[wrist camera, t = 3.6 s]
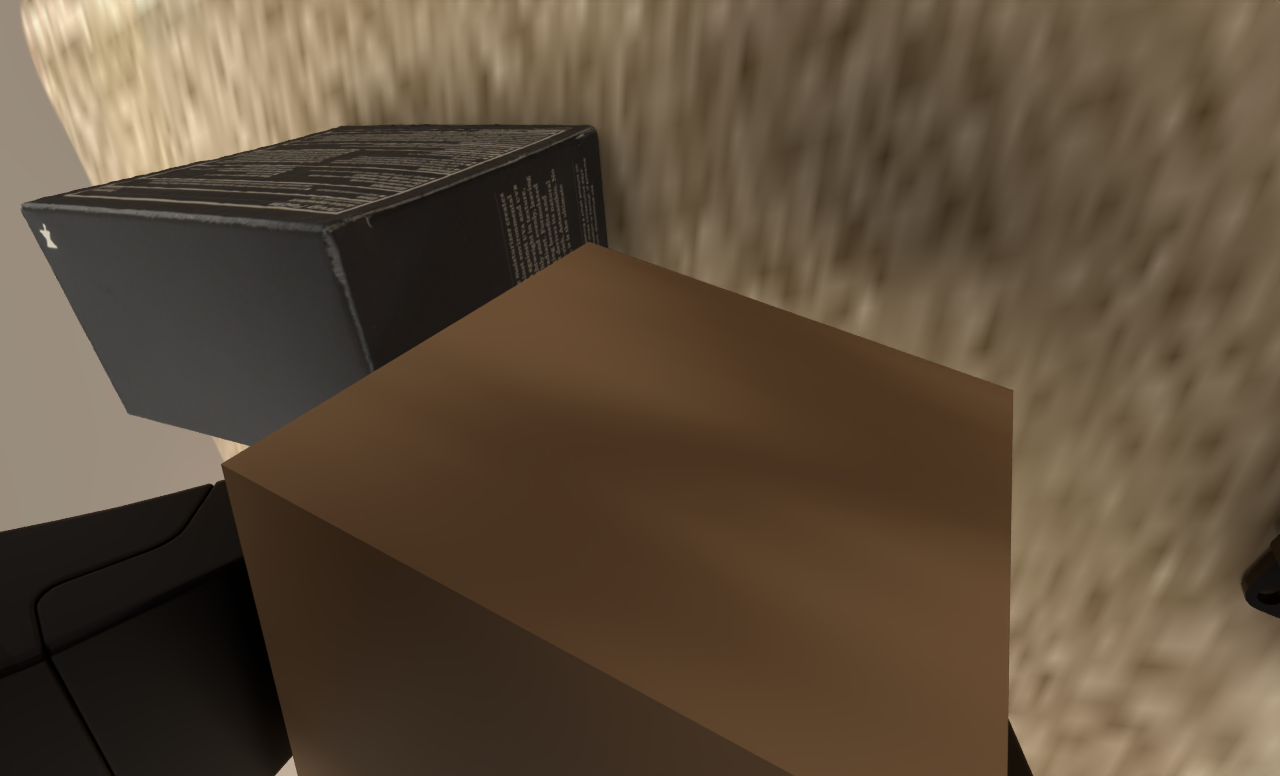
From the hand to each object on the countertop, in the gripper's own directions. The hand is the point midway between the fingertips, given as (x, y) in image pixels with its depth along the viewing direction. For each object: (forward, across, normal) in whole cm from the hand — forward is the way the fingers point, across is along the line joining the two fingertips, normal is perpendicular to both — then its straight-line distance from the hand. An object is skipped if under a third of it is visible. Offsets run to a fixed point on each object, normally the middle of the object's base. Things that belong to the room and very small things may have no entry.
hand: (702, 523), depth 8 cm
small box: (+13, +13, +4) cm, 19 cm away
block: (+1, 0, 0) cm, 1 cm away
